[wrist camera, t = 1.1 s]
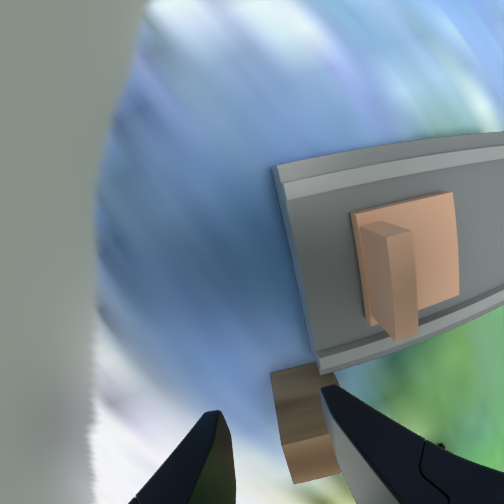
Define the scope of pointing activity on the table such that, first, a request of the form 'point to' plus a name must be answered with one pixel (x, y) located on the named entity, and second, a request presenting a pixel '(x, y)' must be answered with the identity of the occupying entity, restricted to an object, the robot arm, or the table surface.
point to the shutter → (406, 259)
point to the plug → (304, 422)
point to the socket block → (376, 194)
